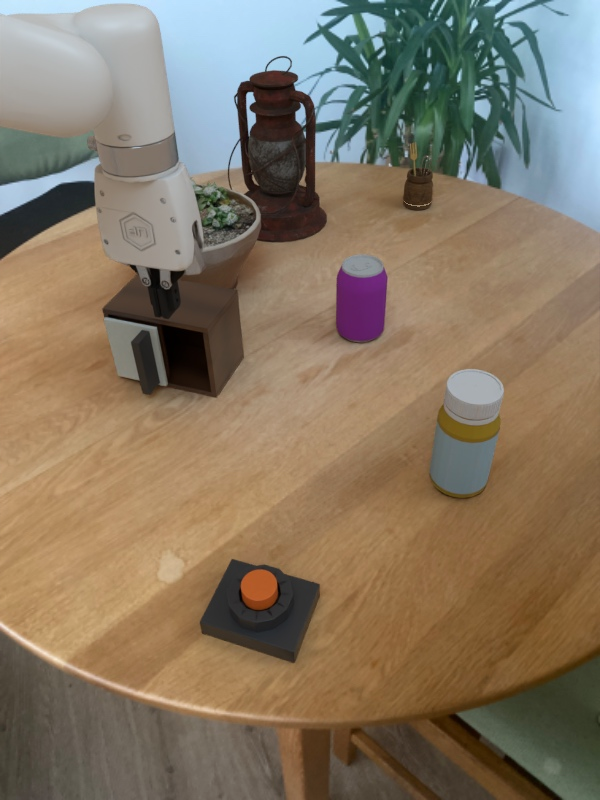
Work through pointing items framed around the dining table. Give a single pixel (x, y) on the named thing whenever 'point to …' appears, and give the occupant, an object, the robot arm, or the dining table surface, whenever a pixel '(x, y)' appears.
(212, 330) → the cabinet
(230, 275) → the planter
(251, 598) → the button
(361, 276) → the beverage can
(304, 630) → the switch box
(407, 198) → the utensil holder
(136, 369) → the door
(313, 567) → the dining table surface
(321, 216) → the lantern
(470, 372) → the bottle
